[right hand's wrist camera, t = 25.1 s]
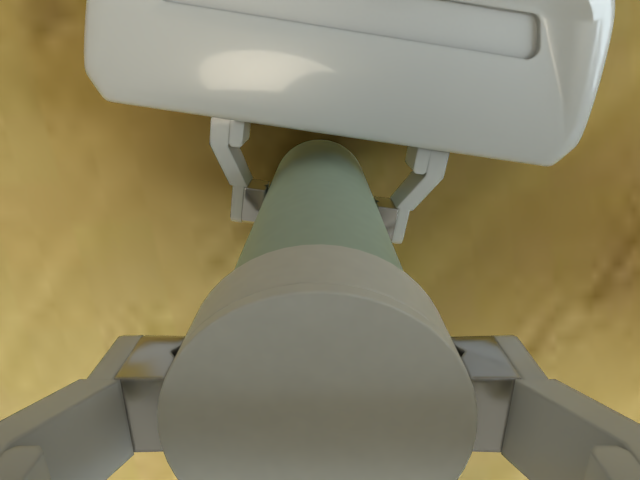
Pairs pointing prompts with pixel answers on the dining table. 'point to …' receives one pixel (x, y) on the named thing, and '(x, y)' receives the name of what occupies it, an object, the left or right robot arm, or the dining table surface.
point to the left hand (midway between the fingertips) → (317, 229)
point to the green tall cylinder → (319, 205)
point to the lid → (317, 376)
